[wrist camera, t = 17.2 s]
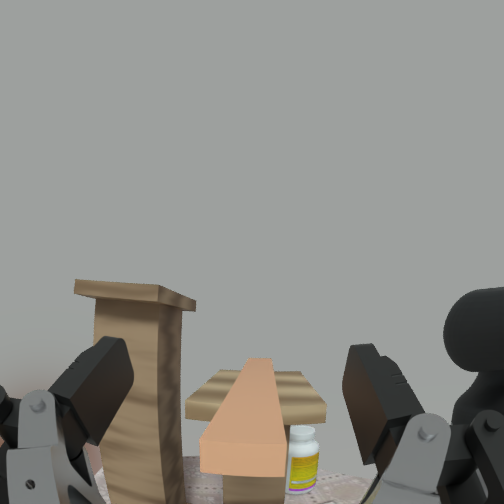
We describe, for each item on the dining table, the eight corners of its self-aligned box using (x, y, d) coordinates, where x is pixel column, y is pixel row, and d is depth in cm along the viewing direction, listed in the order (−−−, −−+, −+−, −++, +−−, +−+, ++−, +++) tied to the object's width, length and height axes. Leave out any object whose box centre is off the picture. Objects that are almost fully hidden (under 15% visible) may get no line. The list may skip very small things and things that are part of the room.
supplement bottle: (322, 485, 34) (329, 428, 37) (297, 500, 30) (303, 440, 33) (295, 475, 39) (300, 421, 42) (269, 486, 35) (273, 429, 38)
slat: (284, 477, 7) (286, 443, 8) (200, 472, 7) (199, 439, 8) (271, 369, 34) (271, 358, 34) (248, 368, 34) (248, 357, 35)
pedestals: (296, 584, 10) (328, 280, 19) (87, 544, 11) (51, 270, 20) (287, 509, 27) (299, 303, 36) (139, 491, 29) (132, 296, 38)
